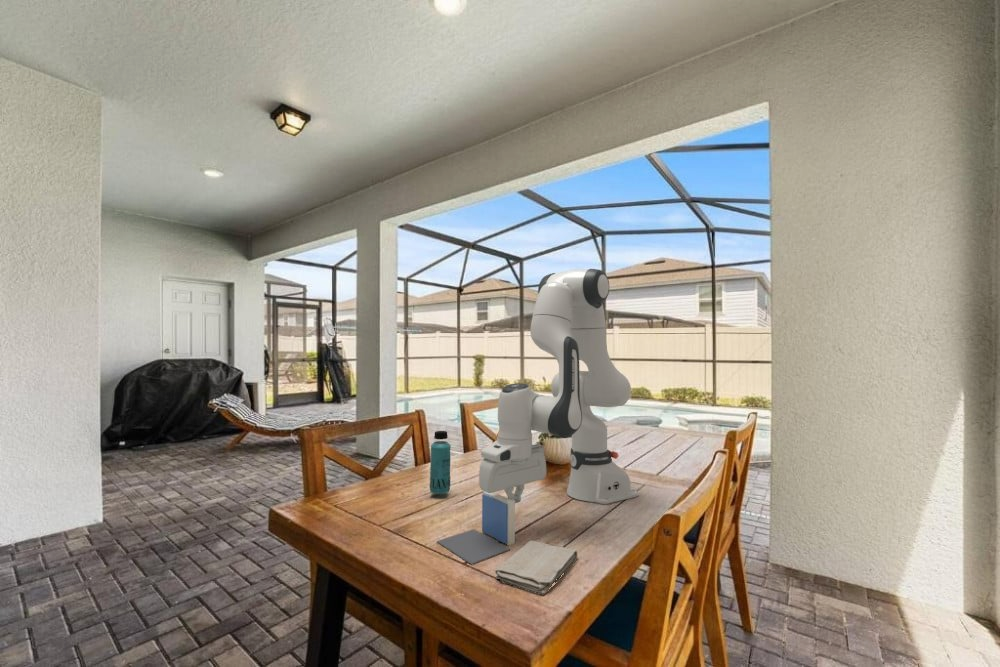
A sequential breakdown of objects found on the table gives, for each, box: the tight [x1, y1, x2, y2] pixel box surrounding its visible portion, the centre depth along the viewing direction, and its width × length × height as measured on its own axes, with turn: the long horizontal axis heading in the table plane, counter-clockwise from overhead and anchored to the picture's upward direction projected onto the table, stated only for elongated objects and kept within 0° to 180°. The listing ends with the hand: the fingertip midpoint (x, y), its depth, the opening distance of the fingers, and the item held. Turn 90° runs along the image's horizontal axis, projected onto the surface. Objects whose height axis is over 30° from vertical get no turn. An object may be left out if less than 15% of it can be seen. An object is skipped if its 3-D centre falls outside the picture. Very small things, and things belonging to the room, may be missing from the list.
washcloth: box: [494, 540, 578, 596], centre depth 94 cm, size 12×18×3 cm, turn 151°
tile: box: [481, 491, 516, 546], centre depth 109 cm, size 2×10×10 cm, turn 40°
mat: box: [436, 528, 511, 566], centre depth 104 cm, size 11×14×1 cm
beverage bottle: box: [429, 430, 452, 495], centre depth 139 cm, size 6×7×20 cm
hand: (514, 502), depth 113 cm, fingers closed
